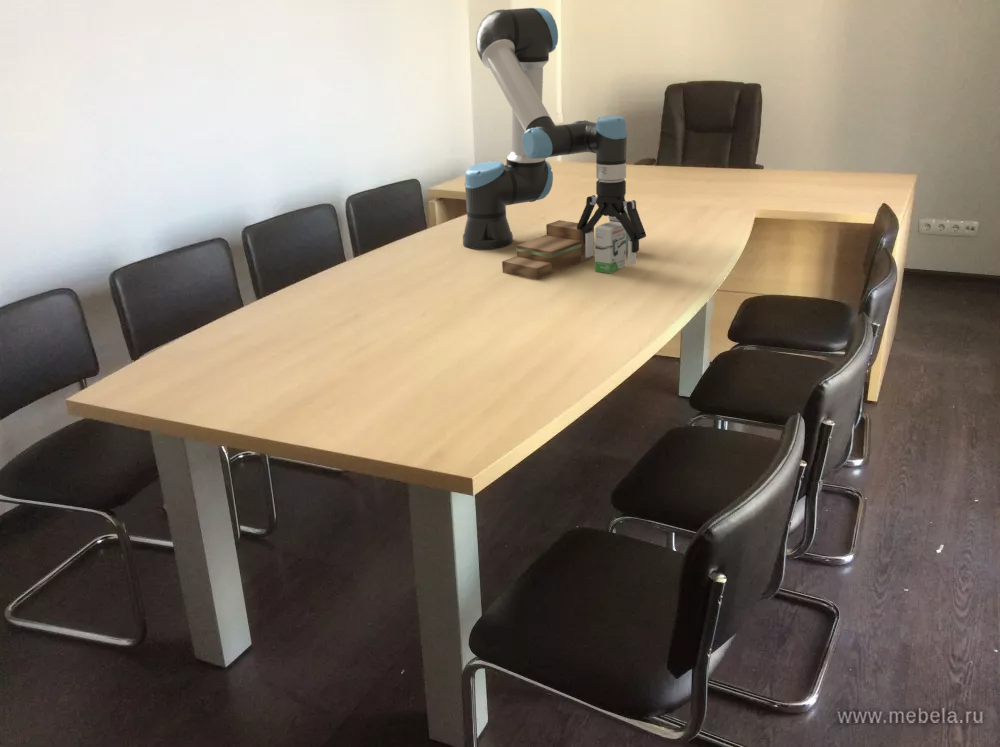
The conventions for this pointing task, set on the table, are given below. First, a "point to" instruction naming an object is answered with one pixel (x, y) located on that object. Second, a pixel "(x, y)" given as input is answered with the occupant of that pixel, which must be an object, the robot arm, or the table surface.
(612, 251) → the ink box
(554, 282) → the table surface
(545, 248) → the stand
